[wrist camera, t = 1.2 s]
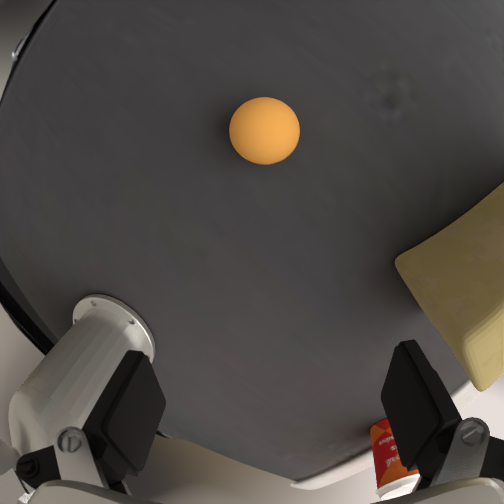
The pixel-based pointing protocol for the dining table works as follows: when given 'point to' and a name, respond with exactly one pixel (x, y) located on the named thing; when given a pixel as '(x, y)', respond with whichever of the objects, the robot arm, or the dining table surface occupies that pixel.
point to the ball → (264, 130)
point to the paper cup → (389, 464)
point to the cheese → (465, 287)
